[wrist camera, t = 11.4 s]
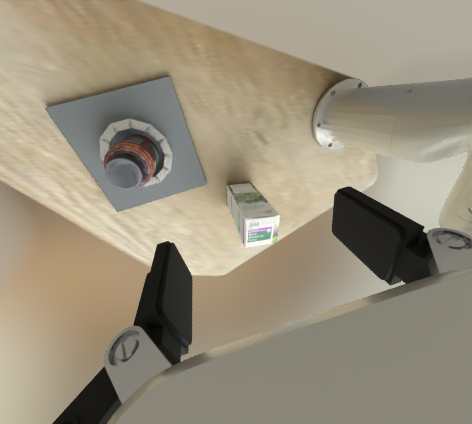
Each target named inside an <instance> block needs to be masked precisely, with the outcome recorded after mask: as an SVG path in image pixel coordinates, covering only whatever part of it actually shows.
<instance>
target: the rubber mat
mask: <svg viewBox="0 0 472 424" xmlns="http://www.w3.org/2000/svg"><path fill="white" fill-rule="evenodd" d="M45 110H46V111H47V112H48V114H49V115H50V117H51V118H52V119H53V121H54V122H55V124H56V125H57V127H58V128H59V129H60V131H61V132H62V134H63V135H64V137H65V138H66V139H67V141H68V142H69V144H70V145H71V147H72V148H73V149H74V151H75V152H76V154H77V155H78V157H79V158H80V159H81V161H82V162H83V164H84V165H85V167H86V168H87V169H88V171H89V172H90V174H91V175H92V177H93V178H94V179H95V181H96V182H97V184H98V185H99V187H100V188H101V189H102V191H103V192H104V194H105V195H106V197H107V198H108V199H109V201H110V202H111V204H112V205H113V207H114V208H115V209H116V211H117V212H120V211H123V210H126V209H129V208H132V207H136V206H139V205H142V204H145V203H148V202H152V201H155V200H158V199H161V198H164V197H168V196H171V195H174V194H177V193H180V192H184V191H187V190H190V189H193V188H196V187H200V186H203V185H206V184H207V183H206V180H205V177H204V174H203V171H202V168H201V165H200V162H199V160H198V157H197V154H196V151H195V148H194V145H193V142H192V139H191V136H190V133H189V130H188V127H187V124H186V121H185V119H184V116H183V113H182V110H181V107H180V104H179V101H178V98H177V95H176V92H175V89H174V86H173V83H172V80H171V78H170V76H168V77H165V78H161V79H157V80H153V81H149V82H145V83H141V84H137V85H133V86H129V87H125V88H122V89H118V90H114V91H110V92H106V93H102V94H98V95H94V96H90V97H86V98H82V99H79V100H75V101H71V102H67V103H63V104H59V105H55V106H51V107H47V108H45ZM130 118H135V119H139V120H142V121H146V122H150V123H152V124H153V125H155V126H156V127H157V128H158V129H159V130H160V131H161V132H162V133H164V134H165V135H166V136H167V138H168V141H169V143H170V146H171V148H172V151H173V158H172V165H171V171H170V172H169V173H168V174H167V175H166V177H165V178H164V179H163V180H162V181H161V182H159V183H156V184H153V185H149V186H146V187H143V186H141V187H137V188H133V189H128V190H126V189H120V188H118V187H116V186H114V185H112V184H111V183H110V182H109V181H108V179H107V177H106V175H105V169H104V162H103V160H102V159H101V157H100V137H101V136H102V134H103V133H104V132H105V130H106V129H107V128H108V126H109V125H110V124H111V123H115V122H118V121H122V120H126V119H130ZM131 135H142V136H145V137H147V138H149V139H150V140H151V141H152V142H153V143H154V144H155V145H156V146H157V149H158V151H159V161H158V164H157V166H156V169H155V171H154V174H155V173H157V172H158V171H159V170H160V169H161V168H162V167H163V165H164V159H165V154H164V152H163V150H162V147H161V145H160V143H159V142H158V141H157V140H156V139H155V138H154V137H152V136H151V135H150V134H149V133H148V132H145V131H142V130H138V129H134V128H129V129H125V130H122V131H120V132H119V133H118V135H117V136H116V137H115V139H114V140H113V146H114V145H116V144H117V143H119V142H120V141H122V140H123V139H125V138H126V137H128V136H131Z"/></svg>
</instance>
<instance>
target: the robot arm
mask: <svg viewBox="0 0 472 424" xmlns="http://www.w3.org/2000/svg"><path fill="white" fill-rule="evenodd" d="M313 134H314V137H315V139H316V141H317V142H318V143H319V144H320V145H321V146H322V147H324V148H326V149H330V150H338V149H341V148H344V147H346V146H350V147H354V148H358V149H362V150H366V151H369V152H373V153H377V154H381V155H385V156H389V157H393V158H396V159H400V160H404V161H408V162H414V163H428V162H434V161H439V160H442V159H445V158H449V157H451V156H454V155H457V154H459V153H462V152H465V151H467V152H468V158H467V160H466V162H465V164H464V167H463V170H462V172H461V174H460V175H459V177H458V180H457V181H456V183H455V185H454V187H453V188H452V190H451V192H450V194H449V196H448V198H447V200H446V202H445V204H444V206H443V208H442V210H441V213H440V216H439V225H440V228H435V229H431V230H429V231H428V232H427V233H425V232H423V229H424V226H422V225H420V224H418V223H416V222H414V221H413V220H411V219H409V218H407V217H405V216H403V215H402V214H400V213H398V212H396V211H394V210H392V209H390V208H389V207H387V206H385V205H383V204H381V203H379V202H378V201H376V200H374V199H372V198H370V197H368V196H367V195H365V194H363V193H361V192H359V191H357V190H356V189H354V188H352V187H345V188H342V189H339V190H337V193H335V196H334V208H333V220H332V232H333V234H334V235H335V236H336V237H337V238H338V239H339V240H340V241H341V242H342V243H343V244H344V245H345V246H346V247H347V248H348V249H349V250H350V251H351V252H352V253H353V254H355V255H356V256H357V257H358V258H359V259H360V260H361V261H362V262H363V263H364V264H365V265H366V266H367V267H368V268H369V269H370V270H371V271H373V273H375V274H376V275H377V276H378V277H379V278H380V279H382V280H385V281H386V282H387V283H388V284H389V285H393V284H396V283H399V282H401V280H402V281H403V282H405V283H406V284H404V285H401V286H398V287H395V288H393V289H389V290H386V291H383V292H380V293H377V294H374V295H371V296H368V297H365V298H362V299H359V300H356V301H353V302H350V303H347V304H344V305H341V306H338V307H335V308H332V309H329V310H326V311H323V312H320V313H317V314H314V315H311V316H308V317H305V318H302V319H299V320H296V321H293V322H290V323H287V324H285V325H282V326H279V327H276V328H273V329H270V330H267V331H264V332H261V333H258V334H255V335H252V336H250V337H246V338H244V339H241V340H238V341H235V342H232V343H229V344H227V345H224V346H221V347H218V348H215V349H213V350H210V351H207V352H204V353H202V354H199V355H196V356H194V357H191V358H189V359H187V360H184V361H182V362H180V357H181V355H184V354H187V353H188V345H190V344H191V342H192V276H191V273H190V271H189V270H188V268H187V266H186V264H185V262H184V260H183V259H182V257H181V255H180V253H179V251H178V250H177V248H176V246H175V244H174V243H170V242H169V241H167V242H163V243H160V244H158V245H157V247H156V251H155V255H154V259H153V263H152V267H151V271H150V272H149V273H148V274H147V277H146V280H145V284H144V287H143V291H142V295H141V299H140V302H139V306H138V310H137V314H136V317H135V321H134V325H133V326H131V327H128V328H126V329H125V330H123V331H122V332H121V333H119V334H118V335H117V336H116V337H115V338H114V339H113V340H112V342H111V344H110V345H109V346H108V348H107V351H106V353H105V357H104V367H103V369H102V370H101V371H100V372H99V373H98V374H97V375H96V376H95V377H94V378H93V380H92V381H91V382H90V383H89V384H88V385H87V386H86V387H85V388H84V389H83V391H82V392H81V393H80V394H79V395H78V396H77V397H76V398H75V399H74V401H73V402H72V403H71V404H70V405H69V406H68V407H67V408H66V409H65V410H64V411H63V413H62V414H61V415H60V416H59V417H58V418H57V419H56V420H55V421H54V423H53V424H472V78H468V79H457V80H446V81H435V82H424V83H412V84H401V85H388V86H378V87H368V86H367V84H365V83H364V82H363V81H361V80H359V79H353V78H352V79H346V80H342V81H340V82H338V83H336V84H334V85H333V86H332V87H330V88H329V89H328V90H327V91H326V93H325V94H324V95H323V96H322V98H321V99H320V101H319V103H318V105H317V107H316V110H315V113H314V117H313Z"/></svg>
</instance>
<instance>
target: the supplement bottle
mask: <svg viewBox="0 0 472 424" xmlns="http://www.w3.org/2000/svg"><path fill="white" fill-rule="evenodd" d="M158 161H159V151H158V149H157V146H156V145H155V144H154V143H153V142H152V141H151V140H150V139H149V138H147V137H145V136H142V135H131V136H128V137H126V138H125V139H123V140H122V141H120V142H119V143H117V144H116V145H114V146H113V147H112V148H110V149H109V150H108V151H107V153H106V154H105V157H104V169H105V175H106V177H107V179H108V181H109V182H110V183H111V184H112V185H114V186H116V187H118V188H120V189H126V190H128V189H133V188H137V187H141V186H144V185H145V184H147V183H148V182H149V181H150V180H151V178H152V176H153V174H154V171H155V169H156V166H157V164H158Z"/></svg>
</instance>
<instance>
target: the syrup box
mask: <svg viewBox="0 0 472 424" xmlns="http://www.w3.org/2000/svg"><path fill="white" fill-rule="evenodd" d="M227 207H228V210H229V212H230V214H231V216H232V218H233V221H234V223H235V225H236V228H237V230H238V233H239V235H240V238H241V240H242V242H243V245H244V246H245V247H251V246H257V245H263V244H269V243H275V242H276V241H277V236H278V230H279V220H280V215H279V214H278V212H277V211H276V210H275V209H274V208H273V207H272V206H271V205H270V203H269V202H268V201H267V200H266V199H265V198H264V197H263V195H262V194H261V193H260V192H259V191H258V190H257V189H256V188H255V186H254V185H253V184H252V183H243V184H233V185H227Z"/></svg>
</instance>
